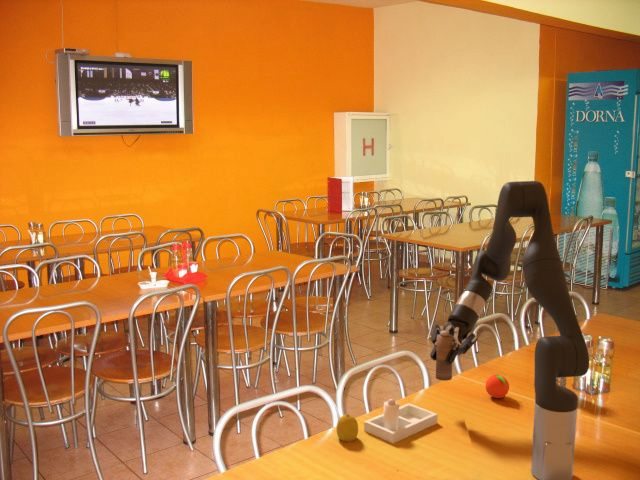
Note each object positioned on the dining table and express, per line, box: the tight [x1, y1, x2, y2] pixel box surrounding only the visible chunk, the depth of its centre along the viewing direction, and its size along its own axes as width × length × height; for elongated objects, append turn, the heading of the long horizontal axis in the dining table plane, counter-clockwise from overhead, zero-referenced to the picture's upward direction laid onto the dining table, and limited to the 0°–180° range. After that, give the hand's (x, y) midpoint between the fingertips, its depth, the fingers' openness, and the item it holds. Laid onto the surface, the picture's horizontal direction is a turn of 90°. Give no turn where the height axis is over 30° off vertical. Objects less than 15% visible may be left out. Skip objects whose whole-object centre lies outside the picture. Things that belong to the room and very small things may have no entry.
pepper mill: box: [435, 330, 453, 382], centre depth 190 cm, size 4×4×13 cm
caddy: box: [363, 403, 439, 444], centre depth 182 cm, size 18×10×4 cm, turn 133°
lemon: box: [336, 413, 359, 443], centre depth 175 cm, size 6×6×8 cm
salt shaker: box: [382, 398, 400, 431], centre depth 178 cm, size 4×4×9 cm
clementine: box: [485, 374, 510, 399], centre depth 205 cm, size 8×7×7 cm
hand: (440, 360), depth 189 cm, fingers closed on pepper mill, 4 cm apart
